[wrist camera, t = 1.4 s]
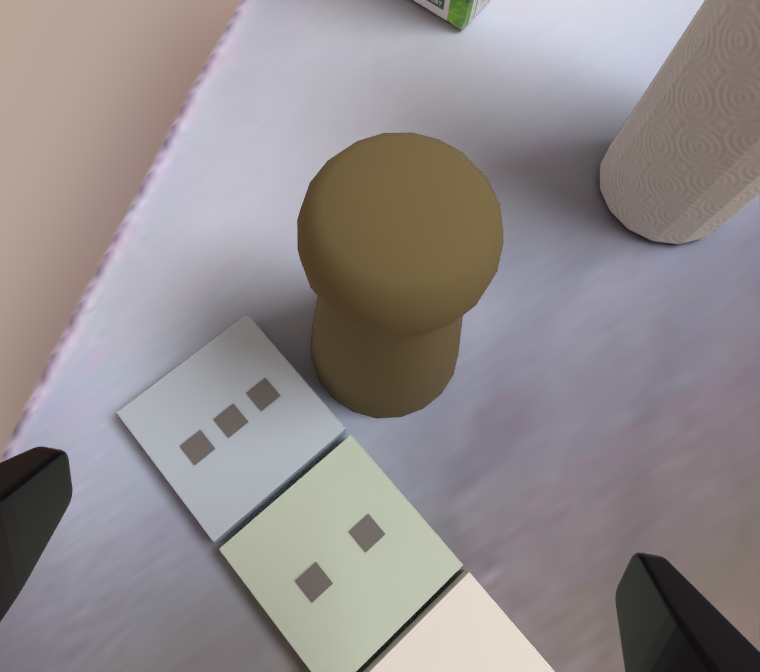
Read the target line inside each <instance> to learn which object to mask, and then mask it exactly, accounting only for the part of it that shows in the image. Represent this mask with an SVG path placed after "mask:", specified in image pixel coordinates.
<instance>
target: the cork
mask: <svg viewBox="0 0 760 672" xmlns="http://www.w3.org/2000/svg"><path fill="white" fill-rule="evenodd" d="M297 226H298V252H299V256H300V260H301V263H302V265H303V268H304V271H305V273H306V276H307V279H308V281H309V284H310V287H311V288H312V289H313V291H314V292H315V293H316V294H317V295H318V298H317V304H316V311H315V317H314V323H313V329H312V336H311V347H312V361H313V364H314V367H315V370H316V372H317V375H318V378H319V381H320V382H321V383H322V384H323V386H324V387H325V388H326V389H327V391H328V392H329V393H330V394H331V396H332V397H333V398H334V399H335V400H337V401H338V402H340V403H341V404H343V405H344V406H346V407H347V408H349V409H350V410H352V411H354V412H357V413H360V414H364V415H368V416H372V417H375V418H388V417H402V416H405V415H407V414H410V413H413V412H415V411H418V410H421V409H423V408H424V407H426V406H427V405H428V404H429V403H431V402H432V401H433V400H434V399H436V398H437V397H438V396H439V395H440V394H441V393H442V392H443V390H444V389H445V387H446V386H447V384H448V382H449V381H450V379H451V378H452V376H453V374H454V370H455V365H456V361H457V357H458V352H459V343H460V334H461V326H462V317H463V315H464V314H465V313H466V312H468V311H469V310H470V309H472V308H473V307H474V306H475V305H476V304H477V302H478V301H479V299H480V298H481V296H482V295H483V293H484V292H485V290H486V288H487V287H488V285H489V284H490V282H491V281H492V279H493V277H494V275H495V274H496V272H497V269H498V264H499V260H500V255H501V251H502V246H503V226H502V219H501V211H500V204H499V202H498V200H497V198H496V196H495V194H494V192H493V190H492V188H491V186H490V184H489V182H488V180H487V178H486V177H485V176H484V175H483V173H482V172H481V171H480V170H479V169H478V168H477V167H476V166H475V165H474V164H473V163H472V162H471V161H470V160H469V159H468V158H467V157H466V156H465V155H464V154H463V153H462V152H460V151H458V150H457V149H455V148H453V147H451V146H449V145H448V144H446V143H444V142H442V141H440V140H439V139H435V138H431V137H427V136H423V135H419V134H415V133H383V134H380V135H376V136H373V137H370V138H366V139H363V140H360V141H357V142H355V143H354V144H352V145H351V146H349V147H348V148H346V149H345V150H343V151H342V152H340V153H339V154H337V155H336V156H334V157H333V158H331V159H330V160H328V161H327V162H326V164H325V165H324V166H323V167H322V169H321V170H320V171H319V172H318V174H317V175H316V176H315V177H314V178H313V180H312V181H311V182H310V184H309V187H308V190H307V193H306V195H305V198H304V201H303V204H302V207H301V209H300V213H299V216H298V220H297Z"/></svg>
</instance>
